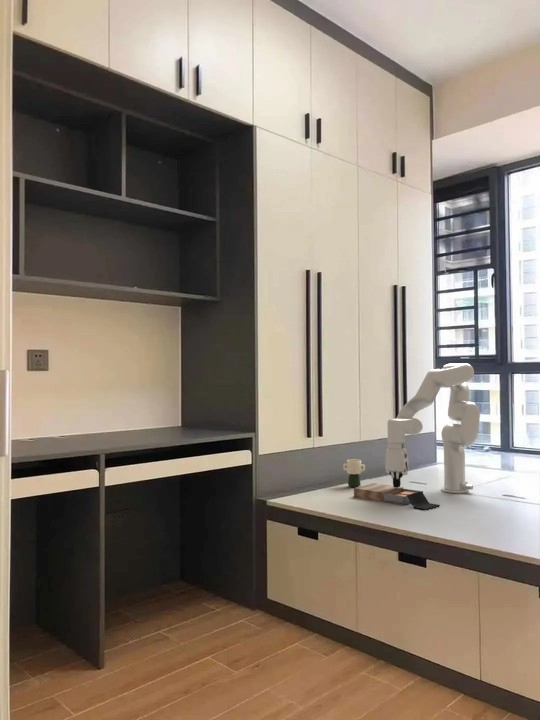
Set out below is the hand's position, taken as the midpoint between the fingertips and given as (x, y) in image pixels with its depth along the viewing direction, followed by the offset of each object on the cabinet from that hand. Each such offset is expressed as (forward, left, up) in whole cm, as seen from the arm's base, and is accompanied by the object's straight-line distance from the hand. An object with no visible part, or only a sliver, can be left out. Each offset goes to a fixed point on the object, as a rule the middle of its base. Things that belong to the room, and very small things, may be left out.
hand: (396, 486), depth 280 cm
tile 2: (-6, +1, -2) cm, 6 cm away
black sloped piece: (-19, +10, -5) cm, 22 cm away
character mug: (+29, -8, -5) cm, 30 cm away
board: (+7, +4, -5) cm, 9 cm away
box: (-6, +4, -5) cm, 9 cm away
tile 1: (-6, +8, -2) cm, 11 cm away
